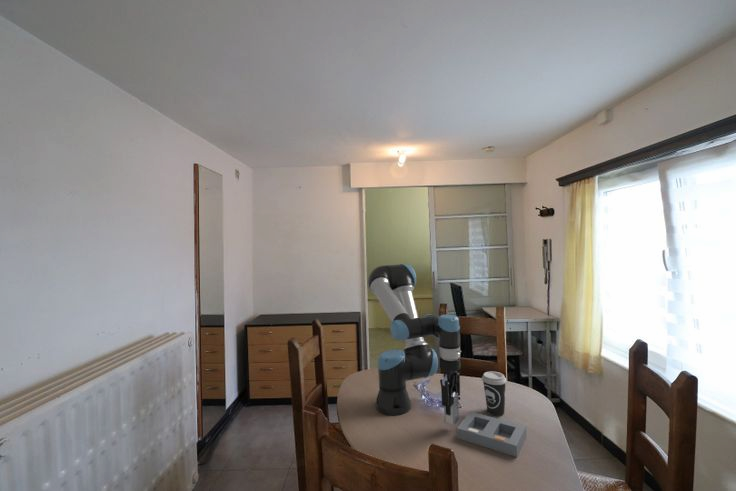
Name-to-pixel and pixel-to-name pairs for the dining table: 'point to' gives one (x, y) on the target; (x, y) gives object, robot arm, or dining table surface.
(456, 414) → the plug
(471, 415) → the socket board
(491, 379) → the coffee cup
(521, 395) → the dining table surface
